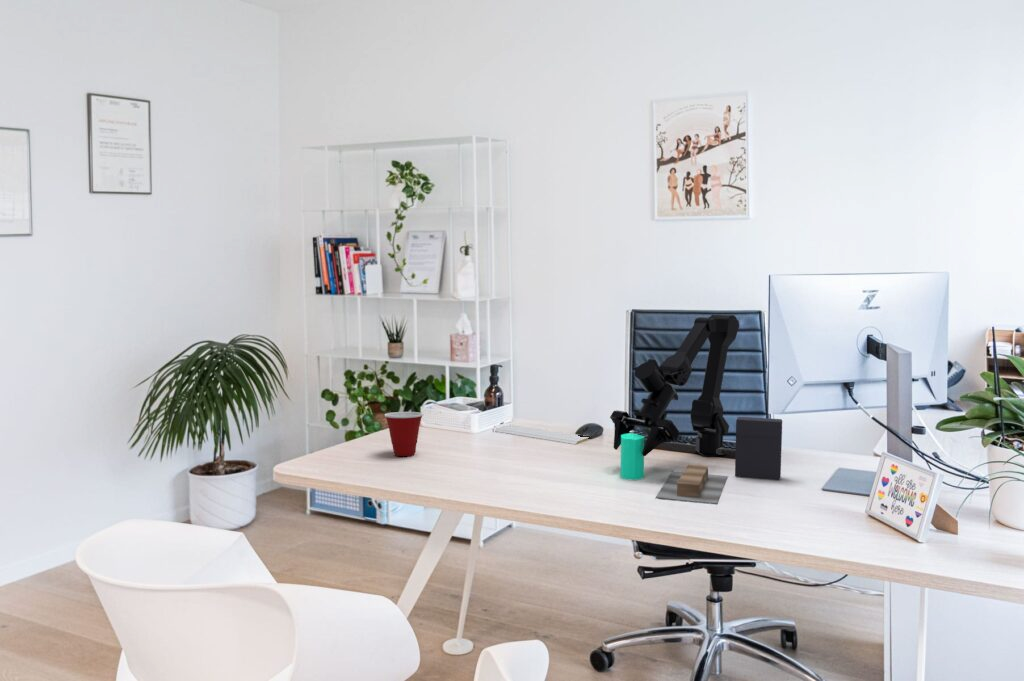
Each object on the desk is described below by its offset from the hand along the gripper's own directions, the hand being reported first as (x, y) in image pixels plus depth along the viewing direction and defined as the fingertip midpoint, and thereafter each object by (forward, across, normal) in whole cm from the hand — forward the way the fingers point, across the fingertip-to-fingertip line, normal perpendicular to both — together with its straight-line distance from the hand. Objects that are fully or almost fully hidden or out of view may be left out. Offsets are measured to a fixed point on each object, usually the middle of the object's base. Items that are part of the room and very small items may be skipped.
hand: (628, 452), depth 220 cm
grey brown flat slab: (+2, -16, -8) cm, 18 cm away
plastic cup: (+24, +59, +14) cm, 65 cm away
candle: (+4, 0, -6) cm, 7 cm away
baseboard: (-7, +49, -17) cm, 52 cm away
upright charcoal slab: (-12, -22, -22) cm, 33 cm away
